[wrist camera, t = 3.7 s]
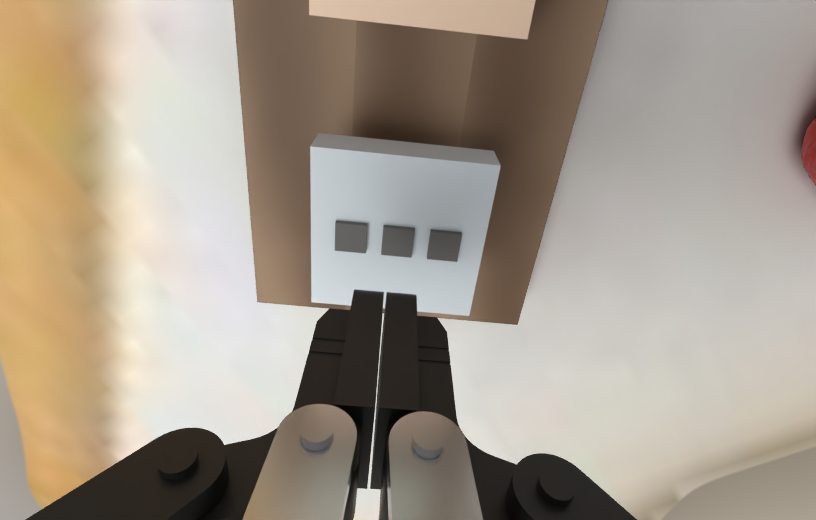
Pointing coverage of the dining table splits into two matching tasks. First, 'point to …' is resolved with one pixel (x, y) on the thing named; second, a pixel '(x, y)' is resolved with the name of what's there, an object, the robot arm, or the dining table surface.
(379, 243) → the key three
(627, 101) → the dining table surface
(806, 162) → the pomegranate
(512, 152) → the key board
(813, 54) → the dining table surface
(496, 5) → the key two
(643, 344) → the dining table surface
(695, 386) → the dining table surface
